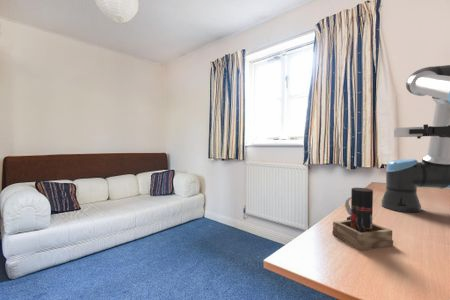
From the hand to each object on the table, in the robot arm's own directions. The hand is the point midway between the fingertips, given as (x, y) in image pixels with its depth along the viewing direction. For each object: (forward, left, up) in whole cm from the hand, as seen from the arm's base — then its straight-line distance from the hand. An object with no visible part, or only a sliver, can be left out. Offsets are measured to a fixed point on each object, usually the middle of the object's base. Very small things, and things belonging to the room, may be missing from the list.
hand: (394, 132), depth 77 cm
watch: (+5, -10, -35) cm, 37 cm away
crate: (+14, +1, -35) cm, 38 cm away
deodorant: (+14, +1, -34) cm, 36 cm away
